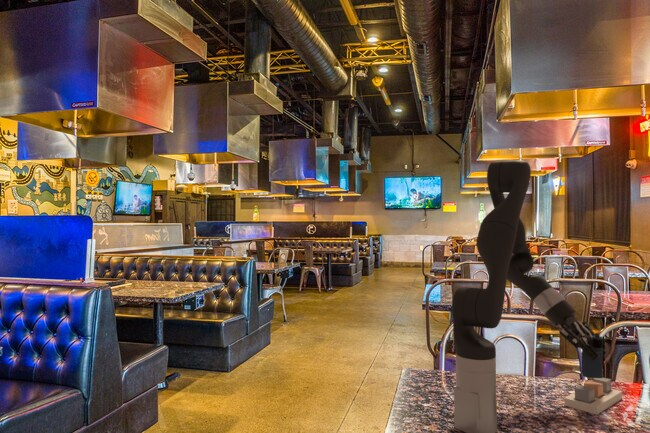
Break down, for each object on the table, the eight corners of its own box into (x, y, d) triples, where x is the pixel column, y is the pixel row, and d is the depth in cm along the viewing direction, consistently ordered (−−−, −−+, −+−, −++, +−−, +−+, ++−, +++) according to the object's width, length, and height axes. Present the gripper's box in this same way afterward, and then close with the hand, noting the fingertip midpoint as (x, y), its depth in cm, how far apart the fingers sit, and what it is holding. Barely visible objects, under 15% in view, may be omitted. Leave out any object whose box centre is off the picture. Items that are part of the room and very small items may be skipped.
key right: (606, 392, 123) (606, 381, 123) (592, 388, 126) (592, 378, 126) (611, 389, 125) (611, 379, 126) (597, 386, 128) (597, 376, 128)
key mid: (598, 397, 120) (597, 386, 120) (584, 393, 122) (583, 383, 122) (603, 394, 122) (602, 383, 122) (589, 390, 124) (589, 380, 125)
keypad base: (596, 414, 113) (596, 406, 113) (564, 405, 119) (564, 397, 119) (622, 398, 124) (622, 391, 124) (591, 390, 131) (591, 383, 131)
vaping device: (605, 378, 120) (604, 334, 121) (583, 377, 122) (583, 333, 122) (601, 375, 123) (600, 332, 123) (580, 374, 124) (579, 331, 124)
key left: (589, 402, 116) (588, 391, 116) (574, 398, 118) (574, 387, 119) (594, 399, 118) (594, 388, 118) (580, 395, 121) (580, 385, 121)
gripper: (552, 301, 124) (600, 353, 115) (573, 296, 133) (620, 345, 123) (533, 317, 128) (579, 369, 118) (556, 311, 137) (600, 359, 127)
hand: (600, 356), depth 121 cm, fingers closed on vaping device, 4 cm apart
